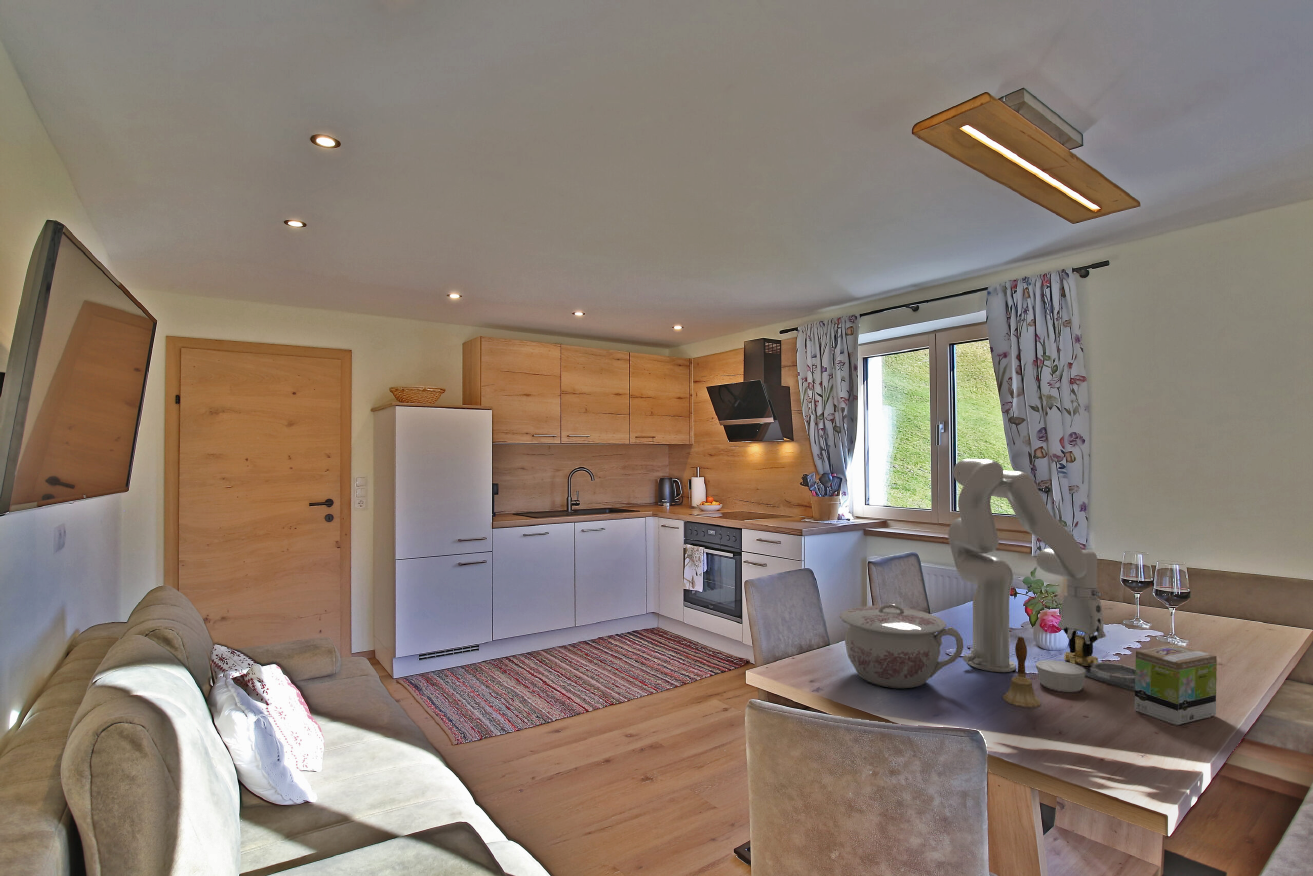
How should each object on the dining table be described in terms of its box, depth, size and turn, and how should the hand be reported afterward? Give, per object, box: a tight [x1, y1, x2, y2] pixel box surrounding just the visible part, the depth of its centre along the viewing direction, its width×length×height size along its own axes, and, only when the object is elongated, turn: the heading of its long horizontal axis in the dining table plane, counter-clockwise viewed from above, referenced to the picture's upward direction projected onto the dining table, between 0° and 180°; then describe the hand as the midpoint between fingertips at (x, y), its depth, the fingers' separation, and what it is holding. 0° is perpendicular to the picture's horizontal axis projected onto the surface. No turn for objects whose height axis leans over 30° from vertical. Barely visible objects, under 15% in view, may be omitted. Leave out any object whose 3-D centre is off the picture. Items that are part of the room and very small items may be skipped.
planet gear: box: [1063, 634, 1099, 667], centre depth 194 cm, size 8×8×7 cm
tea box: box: [1133, 643, 1218, 726], centre depth 157 cm, size 15×10×15 cm, turn 114°
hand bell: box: [1002, 636, 1042, 709], centre depth 165 cm, size 8×8×16 cm
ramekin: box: [1035, 659, 1086, 693], centre depth 175 cm, size 11×11×5 cm
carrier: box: [1084, 661, 1135, 692], centre depth 178 cm, size 12×17×5 cm
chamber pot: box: [839, 603, 964, 690], centre depth 179 cm, size 28×28×21 cm
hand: (1080, 653), depth 194 cm, fingers closed on planet gear, 3 cm apart
